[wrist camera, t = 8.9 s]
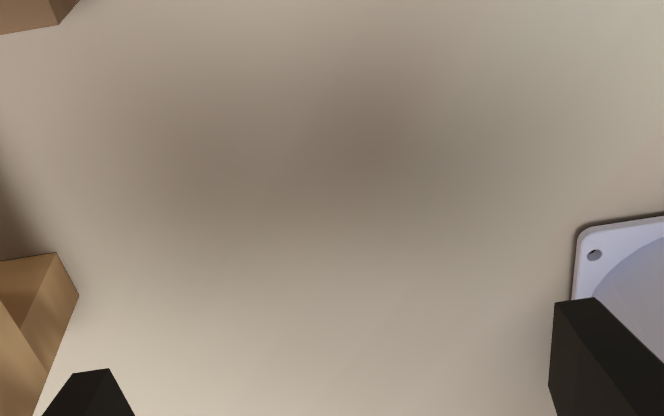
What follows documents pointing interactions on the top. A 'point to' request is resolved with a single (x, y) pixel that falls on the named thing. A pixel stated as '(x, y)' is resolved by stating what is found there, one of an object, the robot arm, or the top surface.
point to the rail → (31, 327)
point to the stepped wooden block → (32, 14)
